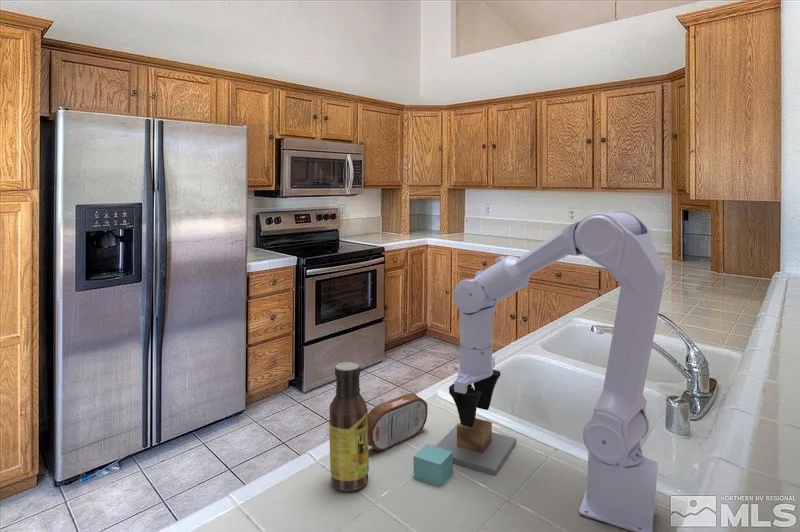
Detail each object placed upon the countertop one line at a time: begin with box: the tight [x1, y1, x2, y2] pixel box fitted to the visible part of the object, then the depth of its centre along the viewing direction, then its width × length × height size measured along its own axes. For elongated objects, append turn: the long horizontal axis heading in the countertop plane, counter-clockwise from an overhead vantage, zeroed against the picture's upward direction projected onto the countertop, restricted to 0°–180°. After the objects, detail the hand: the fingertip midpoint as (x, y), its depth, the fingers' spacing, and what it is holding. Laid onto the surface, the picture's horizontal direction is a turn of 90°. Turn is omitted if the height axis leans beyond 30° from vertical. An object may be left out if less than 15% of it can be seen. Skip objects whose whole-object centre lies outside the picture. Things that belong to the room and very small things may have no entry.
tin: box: [368, 392, 428, 452], centre depth 90 cm, size 15×3×8 cm, turn 132°
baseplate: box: [435, 423, 517, 476], centre depth 88 cm, size 12×12×1 cm
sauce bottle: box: [328, 361, 370, 492], centre depth 77 cm, size 6×6×20 cm
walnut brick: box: [456, 417, 493, 454], centre depth 87 cm, size 5×4×4 cm
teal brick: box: [413, 443, 454, 488], centre depth 80 cm, size 5×4×4 cm
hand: (475, 416), depth 87 cm, fingers open, 7 cm apart
